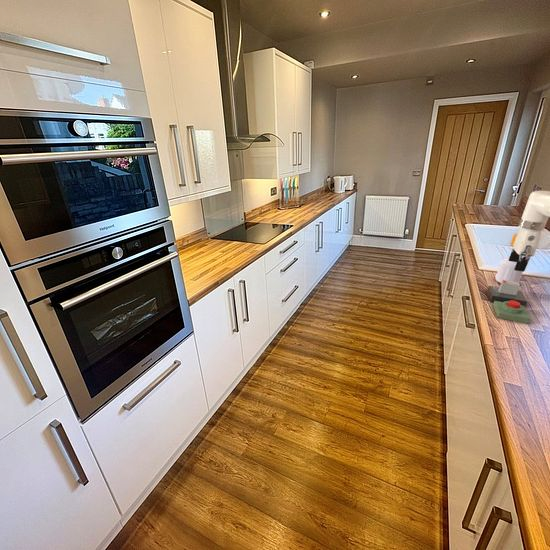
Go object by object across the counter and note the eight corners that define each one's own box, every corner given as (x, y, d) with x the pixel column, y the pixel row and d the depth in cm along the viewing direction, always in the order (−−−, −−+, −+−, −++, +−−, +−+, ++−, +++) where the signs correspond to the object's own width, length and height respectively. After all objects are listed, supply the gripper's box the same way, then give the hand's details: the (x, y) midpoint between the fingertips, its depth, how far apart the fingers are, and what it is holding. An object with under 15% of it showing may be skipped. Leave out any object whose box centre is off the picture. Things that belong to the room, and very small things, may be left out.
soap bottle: (520, 287, 135) (540, 236, 124) (497, 284, 138) (515, 234, 127) (514, 278, 143) (532, 230, 132) (492, 276, 146) (508, 229, 135)
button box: (522, 310, 118) (525, 302, 116) (529, 323, 110) (533, 314, 108) (492, 305, 122) (495, 296, 120) (497, 317, 114) (500, 308, 112)
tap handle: (515, 293, 124) (519, 282, 122) (516, 295, 123) (520, 284, 120) (498, 290, 127) (502, 279, 124) (499, 292, 125) (503, 281, 123)
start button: (517, 305, 115) (519, 301, 114) (519, 309, 112) (521, 305, 111) (506, 303, 116) (508, 299, 115) (508, 307, 113) (510, 303, 112)
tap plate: (518, 296, 127) (521, 290, 126) (524, 307, 119) (527, 301, 118) (486, 291, 132) (488, 285, 131) (490, 301, 124) (492, 295, 123)
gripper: (552, 232, 101) (533, 276, 109) (537, 220, 115) (521, 259, 123) (525, 230, 104) (509, 272, 112) (514, 218, 118) (500, 256, 125)
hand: (515, 265), depth 117 cm, fingers open, 9 cm apart
